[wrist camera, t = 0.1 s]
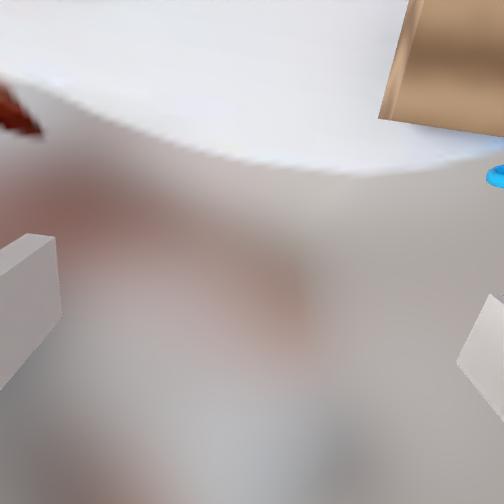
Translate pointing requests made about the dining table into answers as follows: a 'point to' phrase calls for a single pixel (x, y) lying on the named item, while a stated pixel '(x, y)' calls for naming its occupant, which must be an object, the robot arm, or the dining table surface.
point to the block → (449, 67)
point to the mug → (496, 176)
